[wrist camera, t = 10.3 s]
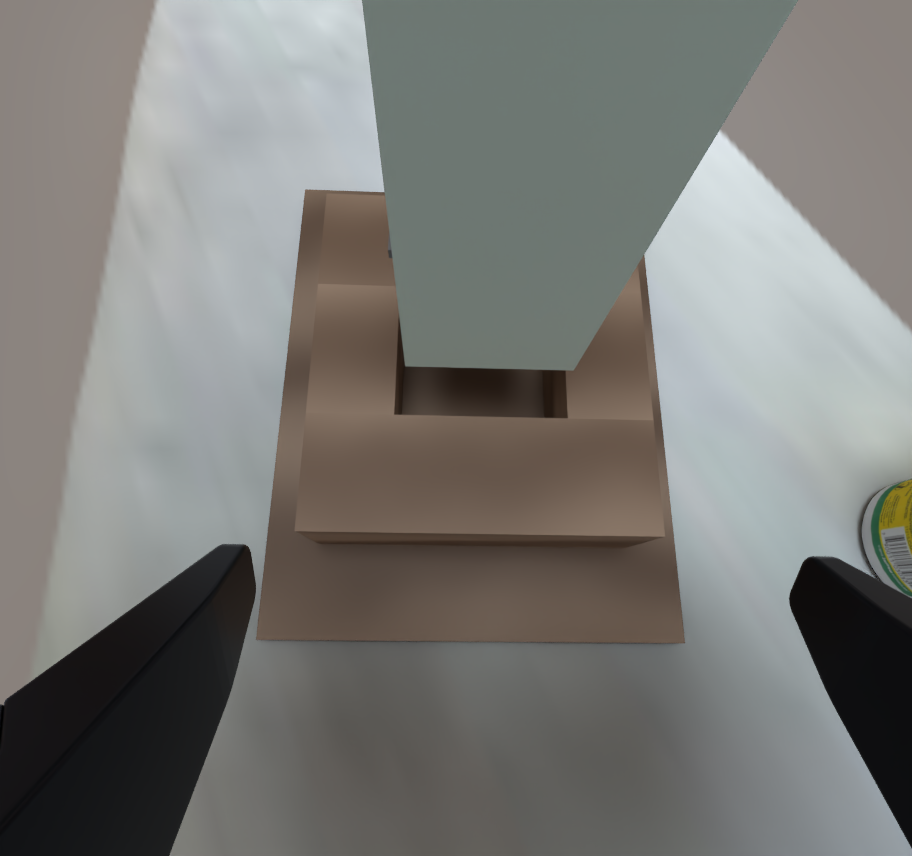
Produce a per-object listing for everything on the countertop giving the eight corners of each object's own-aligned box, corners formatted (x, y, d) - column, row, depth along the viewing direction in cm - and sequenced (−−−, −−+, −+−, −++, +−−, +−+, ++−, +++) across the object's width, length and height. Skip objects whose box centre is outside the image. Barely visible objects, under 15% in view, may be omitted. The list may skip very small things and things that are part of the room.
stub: (573, 370, 17) (919, -199, 5) (400, 366, 16) (317, -237, 5) (566, 250, 18) (828, -437, 6) (405, 245, 18) (350, -474, 6)
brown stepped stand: (678, 642, 22) (740, 651, 17) (260, 638, 21) (215, 648, 17) (634, 209, 28) (672, 135, 23) (308, 198, 27) (283, 120, 23)
